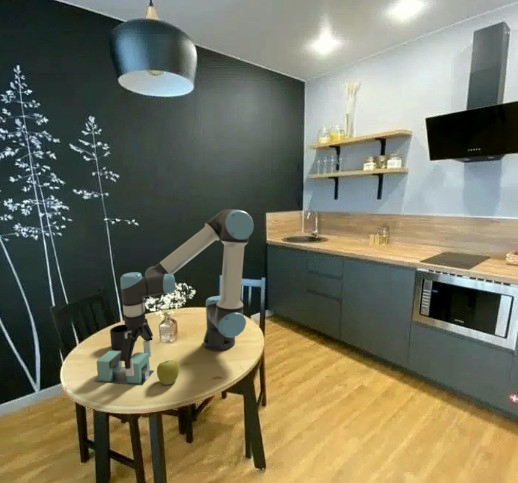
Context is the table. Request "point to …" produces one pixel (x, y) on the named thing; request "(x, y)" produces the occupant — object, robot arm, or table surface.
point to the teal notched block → (108, 365)
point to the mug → (117, 336)
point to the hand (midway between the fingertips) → (139, 365)
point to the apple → (167, 372)
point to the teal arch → (138, 366)
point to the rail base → (121, 377)
